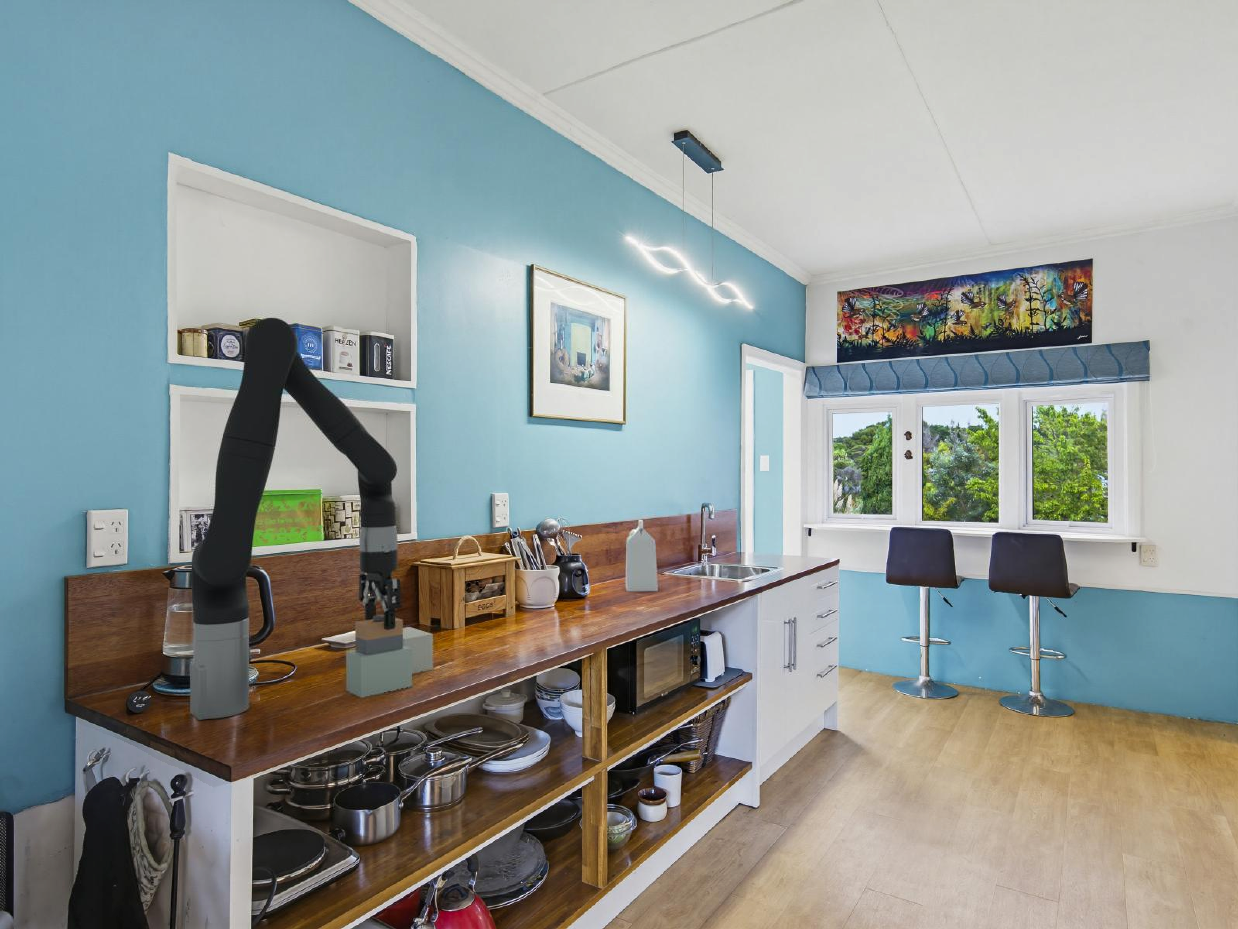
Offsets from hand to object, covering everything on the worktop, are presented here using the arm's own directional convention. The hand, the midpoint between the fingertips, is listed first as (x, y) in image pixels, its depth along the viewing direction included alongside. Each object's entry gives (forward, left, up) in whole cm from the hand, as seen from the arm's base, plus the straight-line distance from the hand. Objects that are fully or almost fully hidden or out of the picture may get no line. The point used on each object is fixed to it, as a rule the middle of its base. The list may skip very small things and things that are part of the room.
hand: (380, 626), depth 154 cm
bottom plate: (0, 0, -5) cm, 5 cm away
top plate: (0, 0, -2) cm, 2 cm away
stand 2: (+12, +11, -13) cm, 21 cm away
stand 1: (0, 0, -13) cm, 13 cm away
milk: (+131, +53, -13) cm, 142 cm away
